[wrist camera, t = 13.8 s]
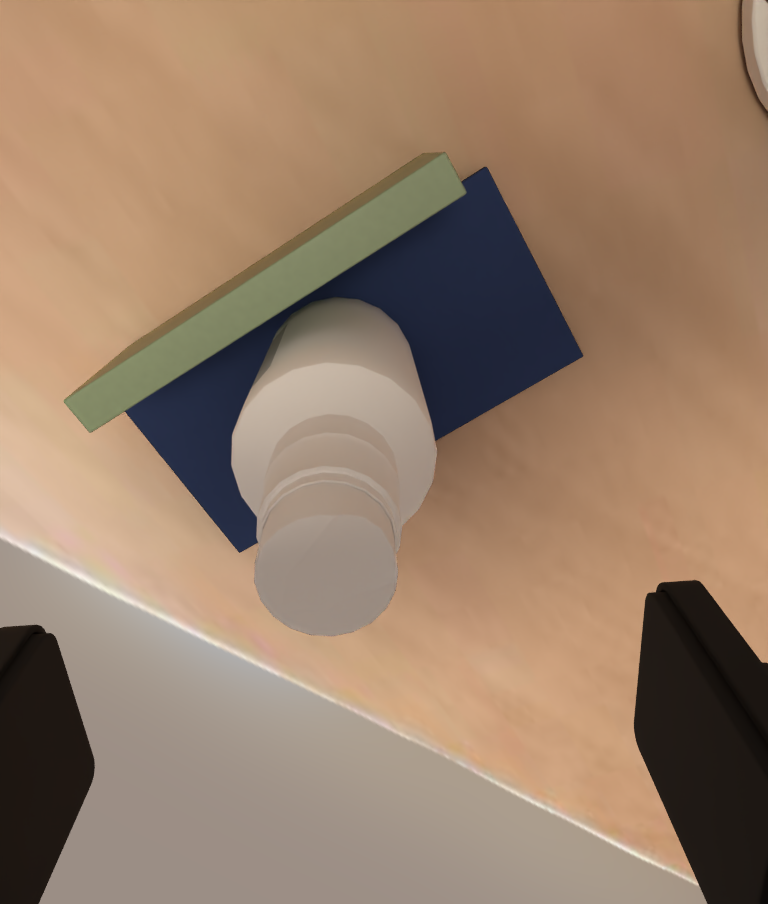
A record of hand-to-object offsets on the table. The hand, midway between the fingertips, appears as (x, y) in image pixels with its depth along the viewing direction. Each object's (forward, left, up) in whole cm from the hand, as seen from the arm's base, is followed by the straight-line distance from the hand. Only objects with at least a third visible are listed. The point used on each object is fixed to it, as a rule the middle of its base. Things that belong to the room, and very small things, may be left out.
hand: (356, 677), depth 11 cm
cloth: (0, +2, -24) cm, 24 cm away
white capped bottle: (+1, +2, -24) cm, 24 cm away
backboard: (+3, -3, -24) cm, 24 cm away
